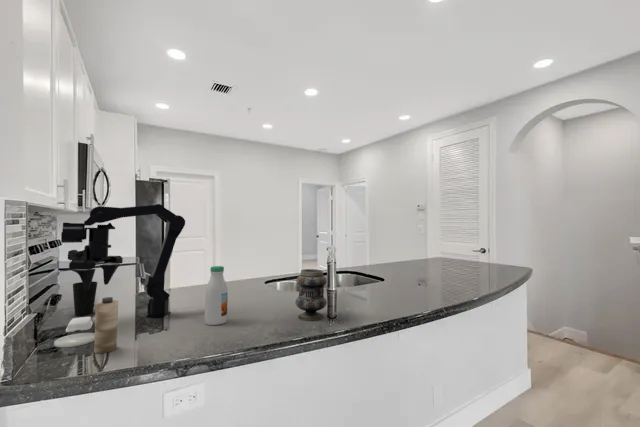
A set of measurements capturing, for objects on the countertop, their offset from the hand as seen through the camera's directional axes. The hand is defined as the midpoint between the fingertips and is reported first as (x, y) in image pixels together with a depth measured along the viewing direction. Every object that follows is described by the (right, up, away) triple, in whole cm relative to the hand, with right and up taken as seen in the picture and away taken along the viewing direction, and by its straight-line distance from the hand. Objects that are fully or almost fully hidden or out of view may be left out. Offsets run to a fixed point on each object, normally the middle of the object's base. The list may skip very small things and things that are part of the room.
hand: (96, 286), depth 110 cm
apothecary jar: (+75, -14, +11) cm, 77 cm away
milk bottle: (+41, -14, +3) cm, 43 cm away
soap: (-3, -13, -4) cm, 14 cm away
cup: (-13, -14, +12) cm, 22 cm away
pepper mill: (+18, -12, -23) cm, 32 cm away
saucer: (+5, -12, -16) cm, 21 cm away
